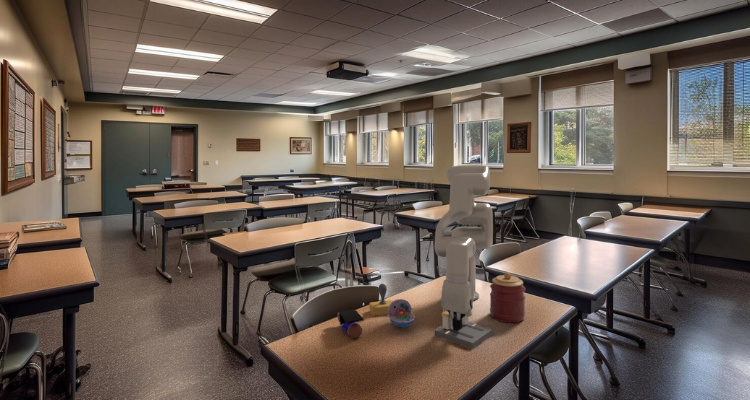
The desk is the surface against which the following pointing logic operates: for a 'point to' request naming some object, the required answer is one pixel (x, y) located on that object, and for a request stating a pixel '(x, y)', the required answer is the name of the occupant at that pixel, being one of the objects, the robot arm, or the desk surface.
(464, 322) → the fader tab plain
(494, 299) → the canister
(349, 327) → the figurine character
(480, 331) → the board
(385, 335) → the desk surface
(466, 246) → the robot arm
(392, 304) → the cell model
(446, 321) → the fader tab brass
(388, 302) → the rubber stamp
